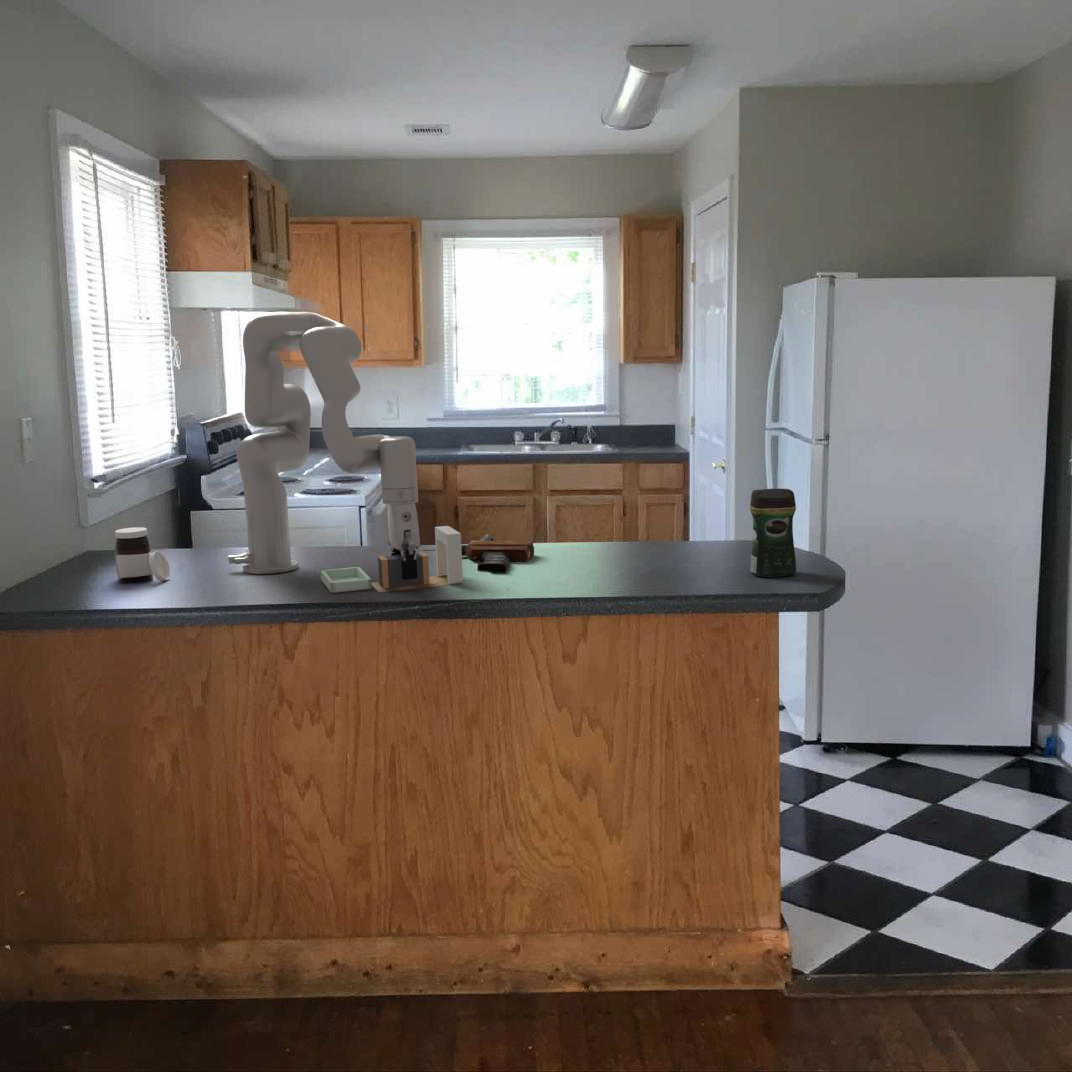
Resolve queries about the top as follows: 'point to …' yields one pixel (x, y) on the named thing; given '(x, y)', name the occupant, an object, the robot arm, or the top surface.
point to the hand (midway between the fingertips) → (404, 574)
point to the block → (393, 572)
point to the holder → (433, 582)
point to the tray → (346, 579)
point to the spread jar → (138, 557)
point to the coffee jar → (772, 533)
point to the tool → (497, 553)
